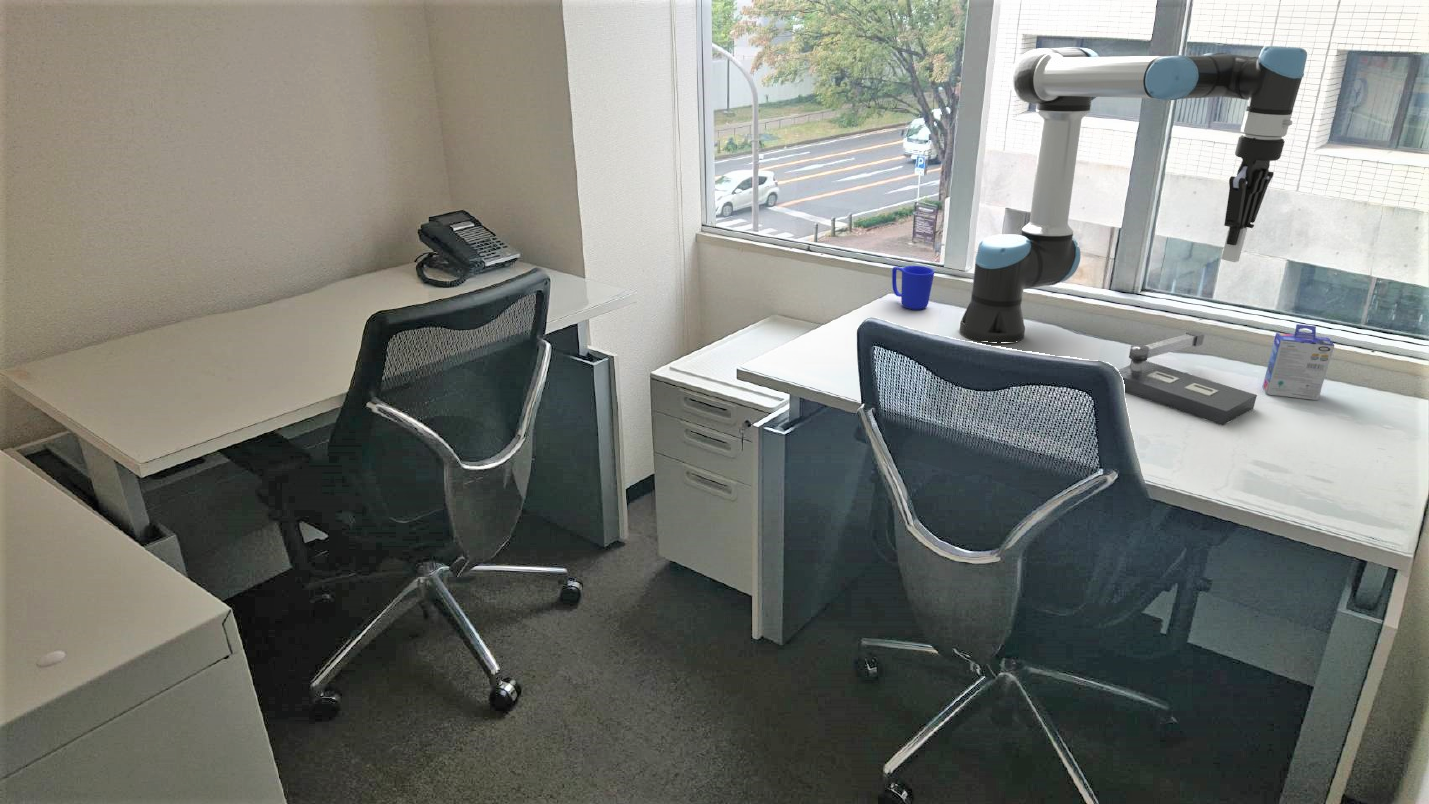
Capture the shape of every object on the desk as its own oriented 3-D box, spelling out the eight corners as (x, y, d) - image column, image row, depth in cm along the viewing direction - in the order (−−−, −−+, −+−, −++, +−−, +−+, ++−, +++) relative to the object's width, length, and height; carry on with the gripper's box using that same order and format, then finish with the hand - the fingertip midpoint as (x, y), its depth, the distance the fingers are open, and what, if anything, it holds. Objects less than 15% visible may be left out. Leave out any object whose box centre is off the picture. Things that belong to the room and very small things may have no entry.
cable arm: (1139, 363, 193) (1142, 351, 191) (1124, 357, 195) (1127, 346, 194) (1203, 345, 203) (1206, 334, 202) (1188, 340, 206) (1191, 329, 205)
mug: (900, 296, 250) (904, 260, 246) (936, 307, 242) (940, 270, 238) (880, 302, 245) (883, 266, 241) (916, 313, 237) (920, 276, 233)
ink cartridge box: (1312, 391, 194) (1332, 326, 188) (1319, 401, 189) (1340, 334, 183) (1260, 385, 196) (1278, 320, 190) (1265, 395, 192) (1284, 329, 186)
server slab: (1107, 386, 195) (1112, 364, 193) (1139, 372, 202) (1144, 351, 200) (1222, 425, 178) (1229, 401, 175) (1253, 408, 185) (1259, 385, 183)
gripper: (1267, 142, 164) (1233, 270, 174) (1299, 136, 171) (1264, 259, 181) (1225, 136, 169) (1194, 260, 179) (1257, 130, 177) (1226, 250, 187)
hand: (1229, 260), depth 180 cm, fingers closed
